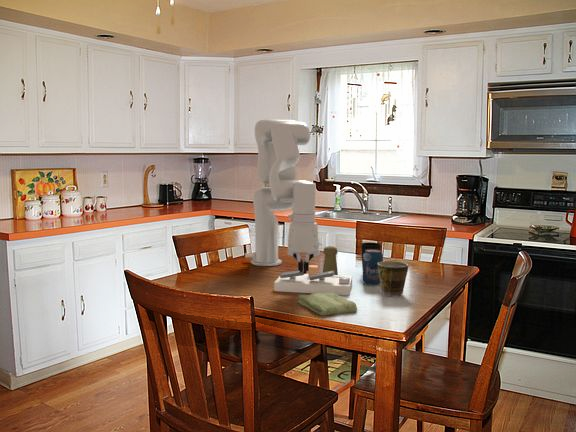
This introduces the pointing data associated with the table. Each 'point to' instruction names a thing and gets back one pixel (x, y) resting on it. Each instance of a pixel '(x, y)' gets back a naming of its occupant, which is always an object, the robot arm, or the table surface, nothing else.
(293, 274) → the rocker left
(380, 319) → the table surface
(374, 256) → the soda can
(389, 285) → the ceramic cup
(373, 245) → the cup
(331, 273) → the rocker right
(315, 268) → the fader knob
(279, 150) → the robot arm
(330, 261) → the brown upright piece
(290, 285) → the panel
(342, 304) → the washcloth
